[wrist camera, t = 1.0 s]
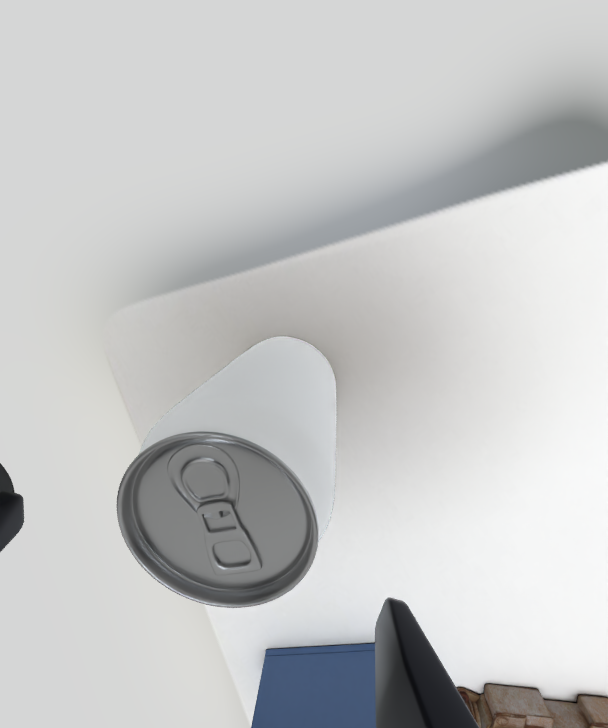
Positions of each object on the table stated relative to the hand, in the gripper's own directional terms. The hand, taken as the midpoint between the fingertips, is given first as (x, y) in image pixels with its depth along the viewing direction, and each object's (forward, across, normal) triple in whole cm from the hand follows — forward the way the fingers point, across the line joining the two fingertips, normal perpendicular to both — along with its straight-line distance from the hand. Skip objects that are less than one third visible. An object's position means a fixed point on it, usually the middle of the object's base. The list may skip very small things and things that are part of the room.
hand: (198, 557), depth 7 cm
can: (+13, 0, 0) cm, 13 cm away
